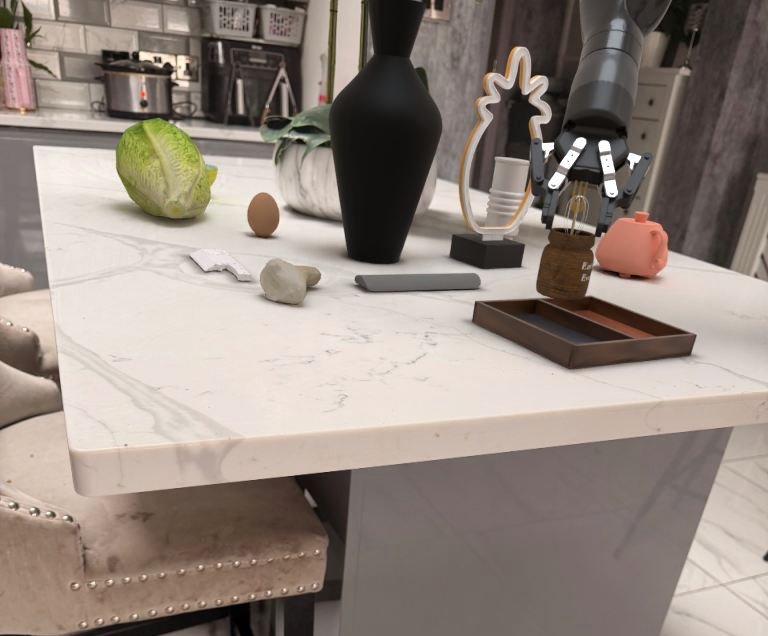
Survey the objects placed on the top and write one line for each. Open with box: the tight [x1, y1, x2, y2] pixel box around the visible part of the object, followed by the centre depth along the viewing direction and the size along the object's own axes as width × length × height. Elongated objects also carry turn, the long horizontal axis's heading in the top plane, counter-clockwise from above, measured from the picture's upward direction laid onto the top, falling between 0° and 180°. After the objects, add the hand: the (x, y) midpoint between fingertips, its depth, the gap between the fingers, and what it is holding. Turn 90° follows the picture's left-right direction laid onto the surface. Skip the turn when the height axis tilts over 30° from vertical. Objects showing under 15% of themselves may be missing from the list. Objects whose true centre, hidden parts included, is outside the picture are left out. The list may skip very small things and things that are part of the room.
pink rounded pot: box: [594, 211, 669, 279], centre depth 132 cm, size 12×14×10 cm
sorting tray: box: [471, 294, 698, 370], centre depth 93 cm, size 20×18×3 cm
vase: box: [327, 0, 443, 265], centre depth 115 cm, size 17×17×35 cm
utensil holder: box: [535, 180, 596, 300], centre depth 86 cm, size 6×6×12 cm
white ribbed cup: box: [483, 156, 530, 241], centre depth 145 cm, size 7×7×15 cm
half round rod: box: [354, 272, 482, 292], centre depth 109 cm, size 4×20×2 cm, turn 119°
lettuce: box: [115, 117, 212, 219], centre depth 134 cm, size 15×25×16 cm
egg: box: [246, 191, 281, 237], centre depth 128 cm, size 5×5×7 cm
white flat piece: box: [188, 247, 252, 281], centre depth 106 cm, size 5×15×1 cm, turn 24°
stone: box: [259, 257, 322, 305], centre depth 97 cm, size 11×6×5 cm, turn 173°
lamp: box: [449, 46, 553, 270], centre depth 123 cm, size 17×9×32 cm, turn 125°
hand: (574, 228), depth 84 cm, fingers closed on utensil holder, 5 cm apart
